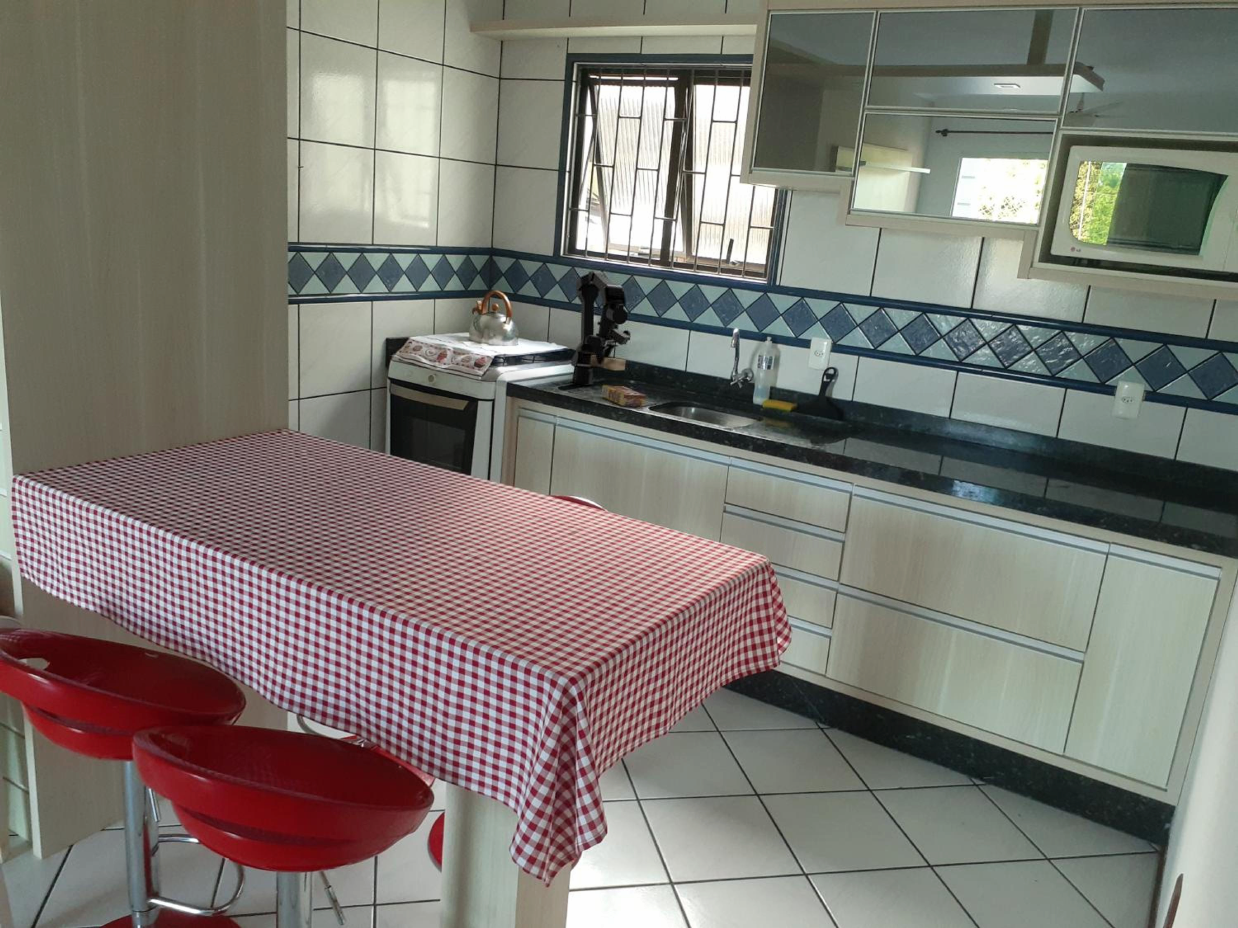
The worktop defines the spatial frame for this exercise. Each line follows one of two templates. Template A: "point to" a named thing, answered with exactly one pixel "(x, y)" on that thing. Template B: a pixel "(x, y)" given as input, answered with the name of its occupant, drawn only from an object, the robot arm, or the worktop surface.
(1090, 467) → the worktop surface
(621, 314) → the robot arm
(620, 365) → the tan rectangular block
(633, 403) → the candy box
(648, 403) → the charcoal rubber mat
